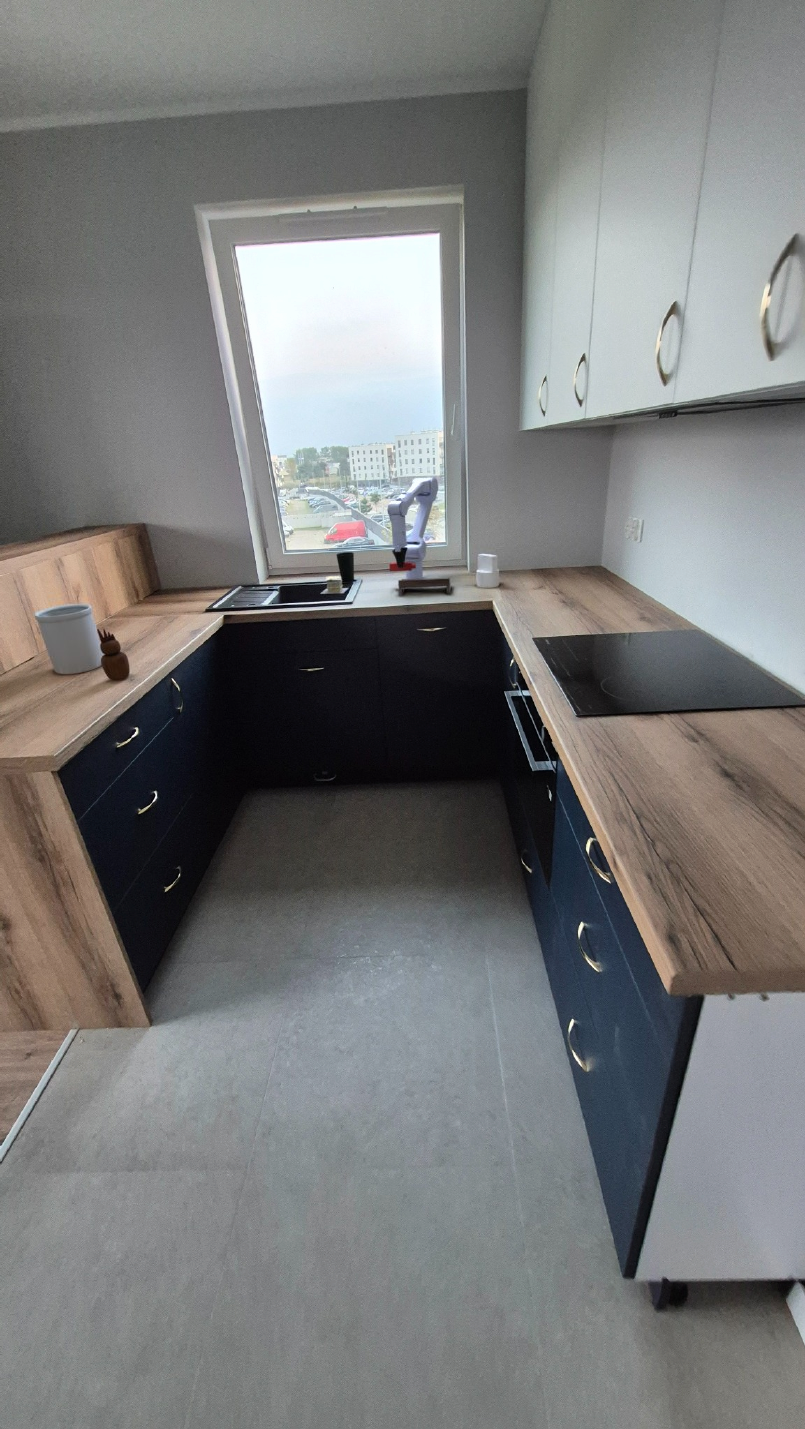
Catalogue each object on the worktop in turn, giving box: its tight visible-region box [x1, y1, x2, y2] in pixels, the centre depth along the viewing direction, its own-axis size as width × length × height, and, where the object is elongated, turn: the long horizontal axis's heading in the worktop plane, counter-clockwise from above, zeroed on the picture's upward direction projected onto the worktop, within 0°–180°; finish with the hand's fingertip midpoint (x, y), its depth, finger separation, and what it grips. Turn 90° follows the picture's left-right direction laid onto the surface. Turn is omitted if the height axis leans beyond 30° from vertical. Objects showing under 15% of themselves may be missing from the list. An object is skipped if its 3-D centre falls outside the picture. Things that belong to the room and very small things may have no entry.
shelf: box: [397, 576, 452, 597], centre depth 230 cm, size 12×20×6 cm, turn 84°
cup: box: [336, 551, 355, 583], centre depth 256 cm, size 8×8×12 cm
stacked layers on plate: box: [320, 575, 349, 595], centre depth 241 cm, size 10×9×6 cm
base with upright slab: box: [476, 553, 500, 589], centre depth 231 cm, size 9×9×12 cm
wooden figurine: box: [96, 628, 131, 681], centre depth 158 cm, size 7×6×15 cm
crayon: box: [389, 561, 416, 572], centre depth 237 cm, size 3×11×3 cm, turn 83°
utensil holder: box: [33, 603, 104, 675], centre depth 170 cm, size 15×15×18 cm
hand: (401, 566), depth 237 cm, fingers closed on crayon, 3 cm apart
